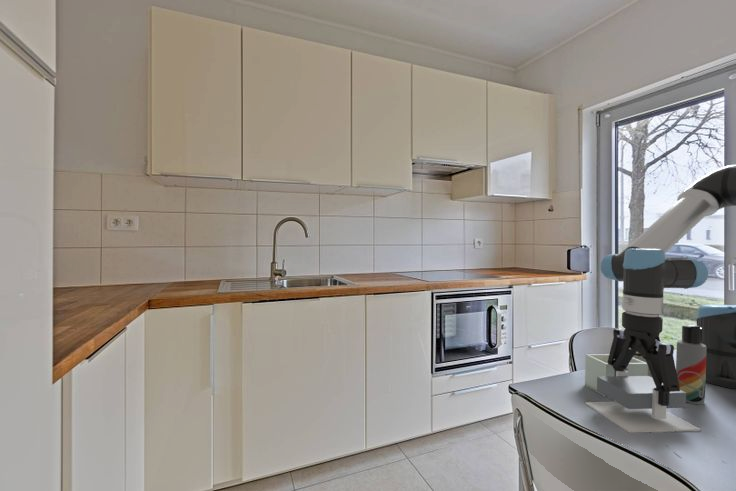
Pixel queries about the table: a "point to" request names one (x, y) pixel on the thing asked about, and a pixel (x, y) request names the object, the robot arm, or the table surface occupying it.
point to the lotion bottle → (691, 364)
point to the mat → (640, 419)
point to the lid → (636, 391)
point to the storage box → (608, 369)
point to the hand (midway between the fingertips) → (638, 406)
